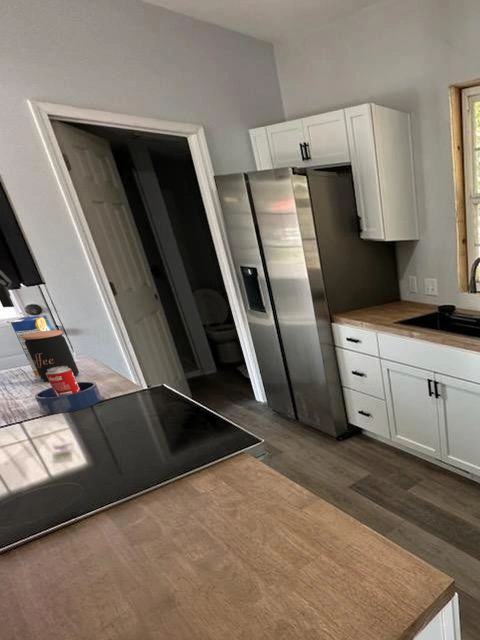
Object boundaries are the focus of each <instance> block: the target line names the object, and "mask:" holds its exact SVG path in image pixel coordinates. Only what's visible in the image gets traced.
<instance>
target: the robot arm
mask: <svg viewBox="0 0 480 640" xmlns="http://www.w3.org/2000/svg"><path fill="white" fill-rule="evenodd" d="M12 284H13V281H12V280H11V279H10V278H9V277H8V276H7V275H6V274H5V273H4V272H3V271H2V270H1V269H0V304H1V306H2V308H14V307H15V304H14V302H13V300H12V298H11V293H10V291H9V288H10V287H11V285H12ZM8 287H9V288H8Z"/></svg>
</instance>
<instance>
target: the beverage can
mask: <svg viewBox="0 0 480 640" xmlns="http://www.w3.org/2000/svg"><path fill="white" fill-rule="evenodd" d="M46 375H47V377H48V380H49V382H48V383H49V384H50V386H51V388H53V391H54V393H55V395H56V397H57V396H63V395H68V394H73V393H77V392H80V388H79V386H78V384H77V382H78V381H77V380H76V376H75V377H74V374H73V372H72V370H71V369H70V368H68V366H58V367H53V368H50V369H47V373H46Z"/></svg>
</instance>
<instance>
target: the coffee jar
mask: <svg viewBox="0 0 480 640" xmlns="http://www.w3.org/2000/svg"><path fill="white" fill-rule="evenodd" d="M22 338H23V339H24V340H25V345H26V347H27V350H28V352H29V354H30V356H31V358H32V360H33V363H34V365H35V367H36V369H37V371H38V374H39V376H38V377H39V379H40V380H41V381H43V382H46V383H50V382H49V380H48V377H47V375H46V373H47V369H50V368H53V367H58V366H68V368H70V369H71V370H72V372H73V374H74V377H75V378H76V377H77V376H78V375H79V373H80V370H79V368H78V366H77V363H76V361H75V359H74V357H73V353H72V352H71V350H70V348H69V345H68V342H67V340H66V338H65V336H63V330H59V329H52V330H50V331H41V332H34V333H29V334H25V335H23V336H22Z"/></svg>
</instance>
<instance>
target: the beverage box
mask: <svg viewBox="0 0 480 640" xmlns="http://www.w3.org/2000/svg"><path fill="white" fill-rule="evenodd" d="M10 324H11V326H12V328H13V331H14V333H15V335H16V338H17V340H18V342H19V344H20V346H21V348H22V350H23V353H24V354H25V356H26V359H27V361H28V363H29V365H30V368H31V370H32V372H33V374H34V376H35V377H40V376H39V374H38V371H37V369H36V367H35V365H34V363H33V360H32V358H31V356H30V354H29V352H28V350H27V347H26V345H25V340H24V339H23V338H22V336H23V335H25V334H29V333H34V332H41V331H50V330H53V329H52V326H51V323H50V321H49V319H48V317H47V315H46V314H44V315H34V316H22V317H19V318H18V319H15V320H12V321H10Z"/></svg>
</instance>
